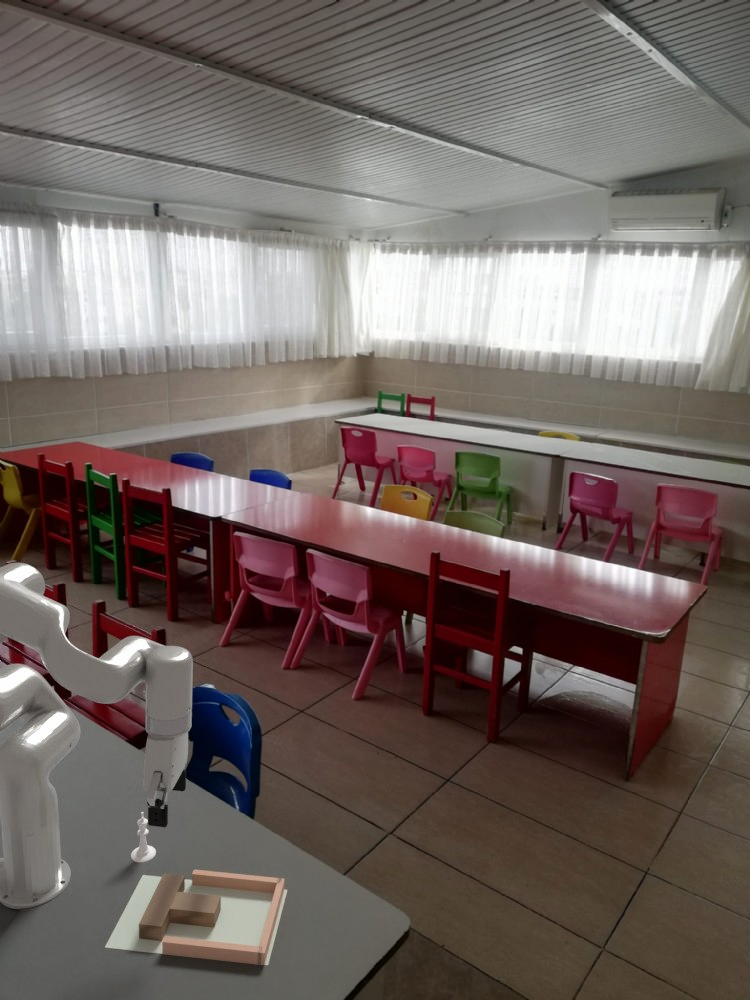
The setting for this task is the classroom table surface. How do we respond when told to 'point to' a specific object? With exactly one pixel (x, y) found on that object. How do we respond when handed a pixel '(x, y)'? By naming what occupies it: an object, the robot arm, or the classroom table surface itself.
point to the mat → (234, 925)
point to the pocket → (228, 949)
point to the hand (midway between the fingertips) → (167, 806)
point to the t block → (177, 908)
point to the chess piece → (143, 843)
